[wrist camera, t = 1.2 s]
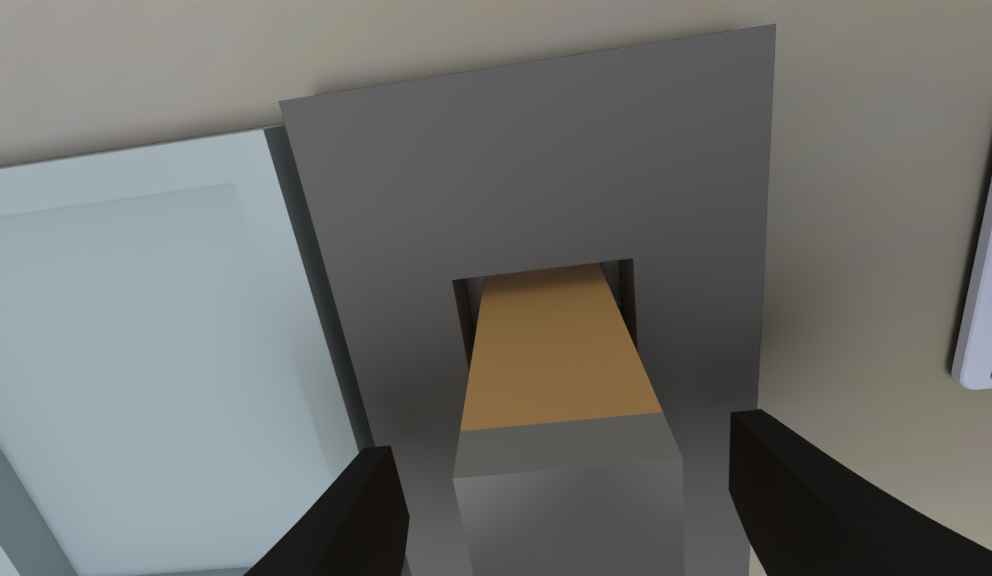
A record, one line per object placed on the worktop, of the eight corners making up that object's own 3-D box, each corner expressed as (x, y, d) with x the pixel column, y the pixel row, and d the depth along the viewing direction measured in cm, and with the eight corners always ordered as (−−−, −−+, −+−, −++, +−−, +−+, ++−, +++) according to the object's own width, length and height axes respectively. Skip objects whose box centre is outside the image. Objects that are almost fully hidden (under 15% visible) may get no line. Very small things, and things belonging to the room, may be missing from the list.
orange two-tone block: (596, 257, 14) (682, 458, 7) (609, 438, 16) (686, 741, 9) (485, 270, 14) (452, 479, 7) (514, 447, 17) (511, 747, 9)
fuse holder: (736, 31, 12) (775, 23, 10) (723, 549, 18) (746, 604, 16) (313, 97, 13) (279, 101, 11) (434, 570, 19) (425, 625, 17)
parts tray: (299, 121, 13) (263, 129, 11) (418, 561, 19) (407, 615, 17) (-162, 191, 14) (-264, 209, 12) (79, 585, 20) (34, 639, 18)
